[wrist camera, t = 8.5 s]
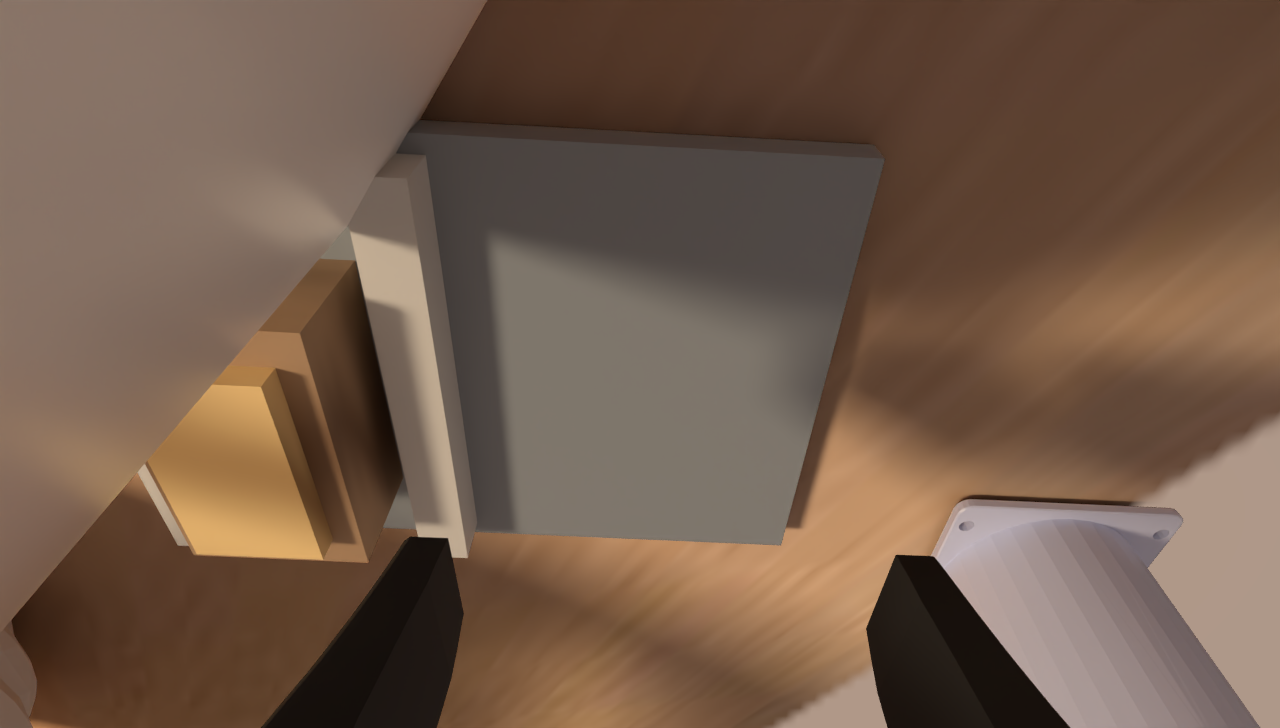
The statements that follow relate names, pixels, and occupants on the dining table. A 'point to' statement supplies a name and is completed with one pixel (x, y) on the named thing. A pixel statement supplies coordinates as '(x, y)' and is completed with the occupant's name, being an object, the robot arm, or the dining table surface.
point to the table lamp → (15, 682)
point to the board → (603, 326)
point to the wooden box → (289, 437)
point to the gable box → (170, 215)
